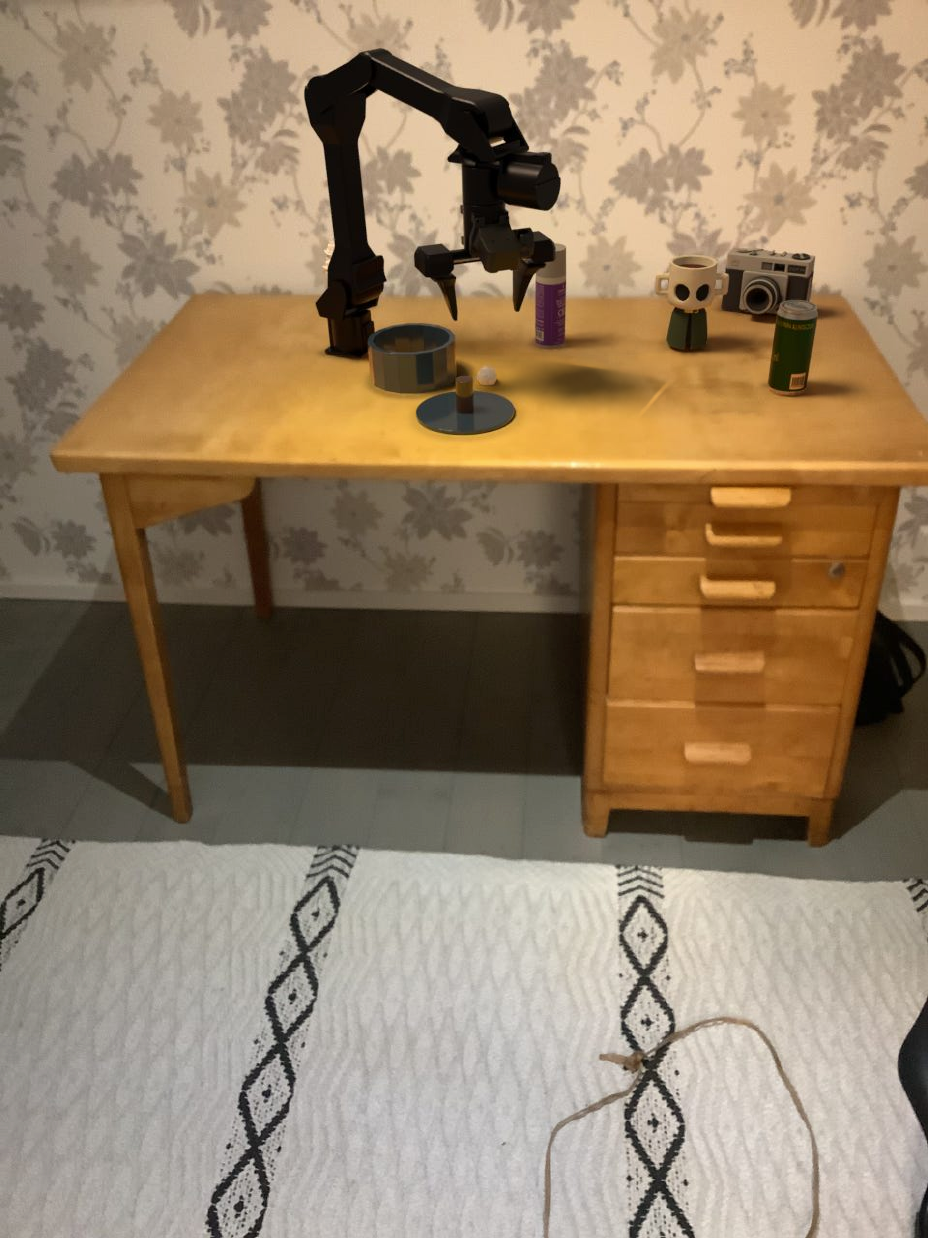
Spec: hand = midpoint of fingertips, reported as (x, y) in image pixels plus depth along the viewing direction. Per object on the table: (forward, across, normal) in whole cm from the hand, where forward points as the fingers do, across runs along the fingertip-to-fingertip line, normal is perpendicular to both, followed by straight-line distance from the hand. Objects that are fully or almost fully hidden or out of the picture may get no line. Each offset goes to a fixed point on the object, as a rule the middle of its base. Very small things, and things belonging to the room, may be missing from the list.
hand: (486, 315), depth 153 cm
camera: (+10, +52, +10) cm, 54 cm away
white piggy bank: (+11, 0, 0) cm, 11 cm away
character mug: (+10, +34, +2) cm, 35 cm away
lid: (+10, -7, -9) cm, 15 cm away
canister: (+10, -9, +6) cm, 15 cm away
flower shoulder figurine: (+11, -12, +42) cm, 45 cm away
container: (+11, +15, +12) cm, 22 cm away
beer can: (+10, +39, -18) cm, 44 cm away
